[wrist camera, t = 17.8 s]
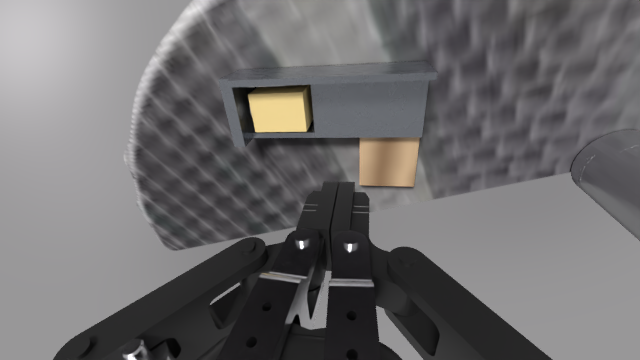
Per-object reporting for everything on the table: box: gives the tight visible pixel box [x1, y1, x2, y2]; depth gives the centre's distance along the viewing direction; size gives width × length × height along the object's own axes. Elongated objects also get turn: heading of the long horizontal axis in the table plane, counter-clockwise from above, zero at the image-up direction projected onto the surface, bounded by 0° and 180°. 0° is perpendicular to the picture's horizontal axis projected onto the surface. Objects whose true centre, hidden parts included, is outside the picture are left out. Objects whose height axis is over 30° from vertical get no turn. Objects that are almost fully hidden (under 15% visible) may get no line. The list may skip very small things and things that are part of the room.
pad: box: [360, 137, 420, 187], centre depth 41 cm, size 8×8×2 cm
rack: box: [218, 61, 438, 147], centre depth 36 cm, size 24×9×7 cm, turn 94°
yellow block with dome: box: [248, 85, 314, 132], centre depth 38 cm, size 5×5×8 cm
